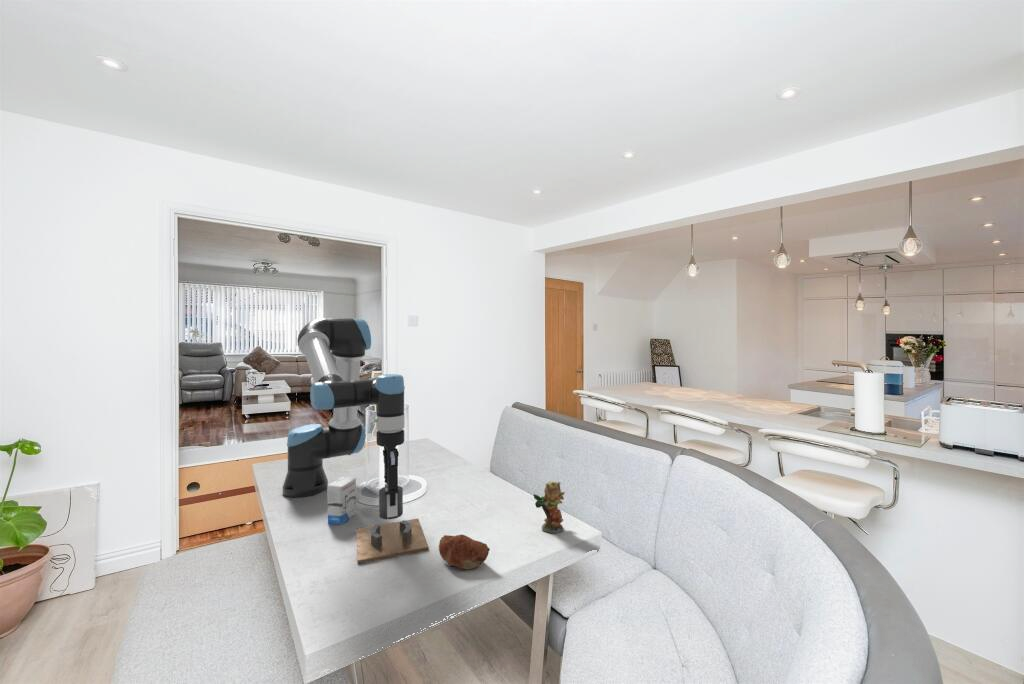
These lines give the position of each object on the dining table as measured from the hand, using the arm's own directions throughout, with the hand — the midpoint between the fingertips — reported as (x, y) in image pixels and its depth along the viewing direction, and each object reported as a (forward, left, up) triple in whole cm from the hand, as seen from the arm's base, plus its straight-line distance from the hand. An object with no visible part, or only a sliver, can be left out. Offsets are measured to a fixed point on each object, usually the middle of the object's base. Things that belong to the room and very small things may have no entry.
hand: (391, 510), depth 117 cm
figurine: (+10, +45, -9) cm, 47 cm away
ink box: (-20, -13, -9) cm, 26 cm away
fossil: (+18, +16, -9) cm, 26 cm away
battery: (0, 0, -1) cm, 1 cm away
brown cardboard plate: (0, 0, -9) cm, 9 cm away
